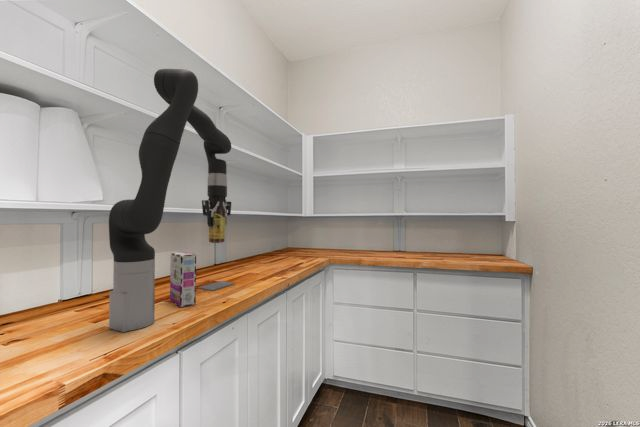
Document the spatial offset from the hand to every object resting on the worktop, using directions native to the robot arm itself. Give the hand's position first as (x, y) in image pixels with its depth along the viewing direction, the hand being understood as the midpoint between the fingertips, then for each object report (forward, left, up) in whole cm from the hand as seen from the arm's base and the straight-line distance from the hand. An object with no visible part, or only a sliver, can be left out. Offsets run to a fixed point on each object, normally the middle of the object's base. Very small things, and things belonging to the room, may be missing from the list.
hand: (217, 226), depth 117 cm
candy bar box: (-21, -6, -25) cm, 33 cm away
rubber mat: (0, 0, -25) cm, 25 cm away
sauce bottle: (0, 0, -7) cm, 7 cm away
